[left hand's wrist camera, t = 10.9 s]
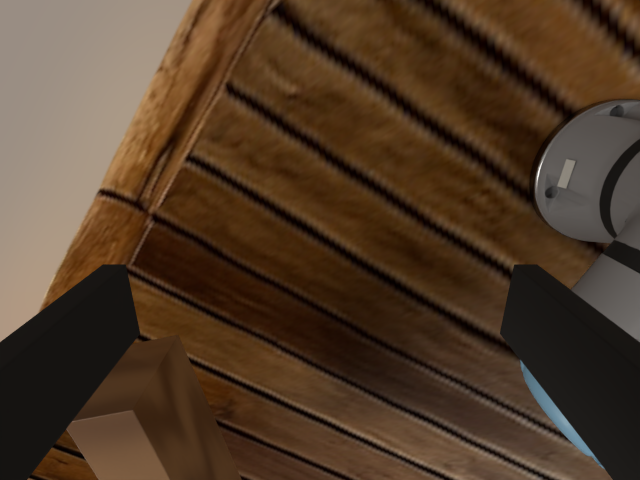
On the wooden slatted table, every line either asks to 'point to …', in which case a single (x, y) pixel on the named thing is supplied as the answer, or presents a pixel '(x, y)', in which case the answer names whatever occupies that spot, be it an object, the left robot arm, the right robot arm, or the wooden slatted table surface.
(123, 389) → the bar
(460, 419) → the wooden slatted table surface
